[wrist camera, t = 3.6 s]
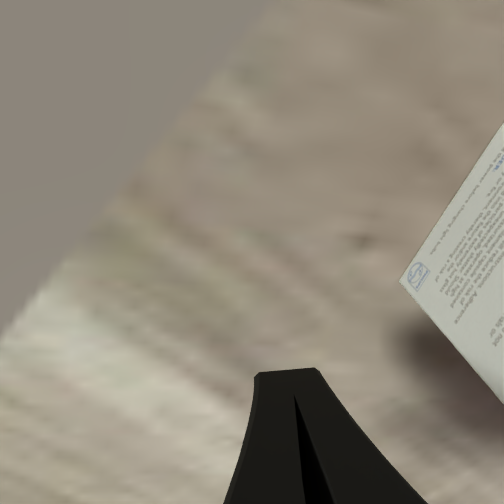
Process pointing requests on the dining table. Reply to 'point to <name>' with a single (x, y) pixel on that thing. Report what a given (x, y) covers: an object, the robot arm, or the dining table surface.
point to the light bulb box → (468, 269)
